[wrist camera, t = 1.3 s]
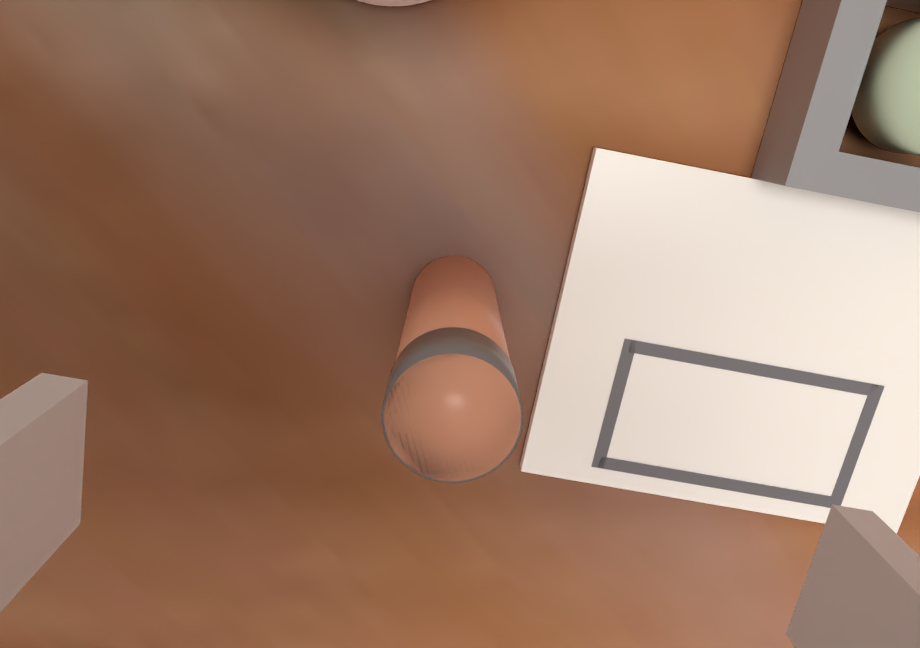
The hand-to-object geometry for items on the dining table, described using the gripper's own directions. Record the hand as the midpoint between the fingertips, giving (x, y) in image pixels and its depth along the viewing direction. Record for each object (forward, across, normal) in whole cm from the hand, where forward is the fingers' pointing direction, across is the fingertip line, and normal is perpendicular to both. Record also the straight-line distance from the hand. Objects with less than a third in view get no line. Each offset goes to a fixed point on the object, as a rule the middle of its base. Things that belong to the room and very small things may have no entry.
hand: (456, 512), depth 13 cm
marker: (+16, 0, 0) cm, 17 cm away
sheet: (+16, +12, 0) cm, 20 cm away
